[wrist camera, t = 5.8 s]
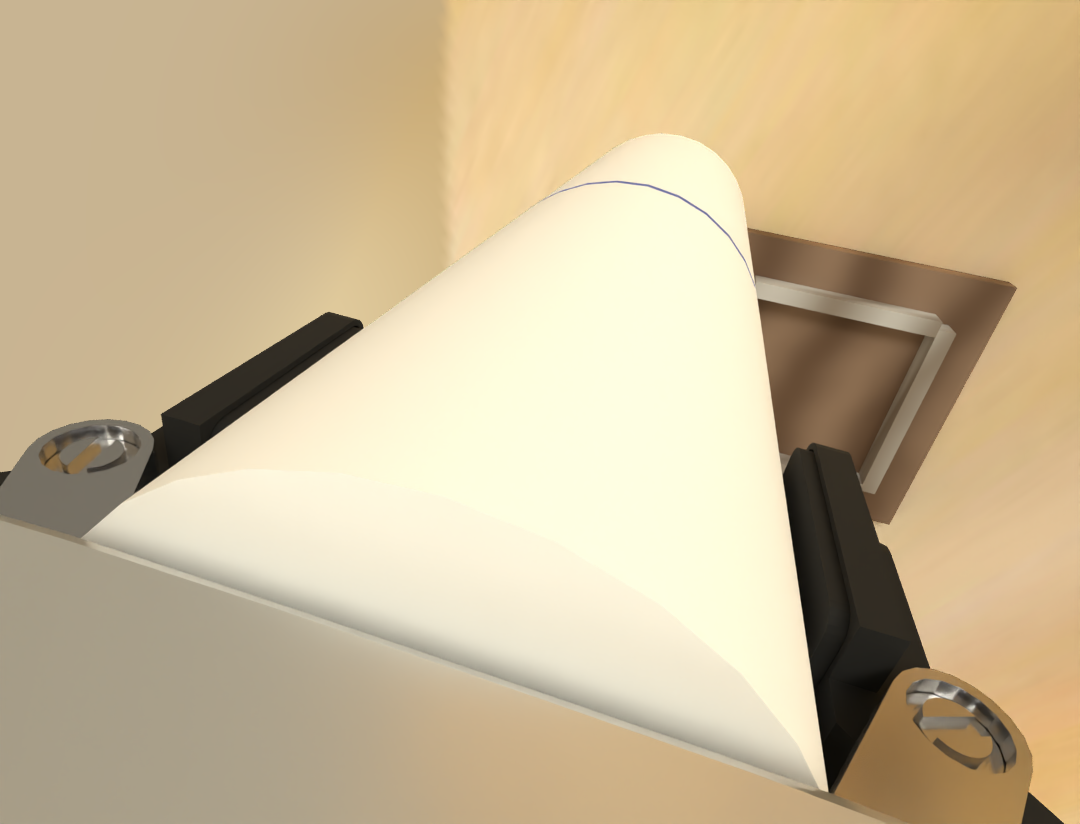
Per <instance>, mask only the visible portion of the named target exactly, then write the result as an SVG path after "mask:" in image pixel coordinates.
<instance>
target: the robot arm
mask: <svg viewBox="0 0 1080 824" xmlns="http://www.w3.org/2000/svg"><path fill="white" fill-rule="evenodd" d="M362 329H363V324H362V322H361V321H360V320H357V319H353V318H350V317H346V316H342V315H339V314H335V313H331V312H327V313H325V314H323V315H321V316H320V317H318V318H317V319H315V320H313V321H312V322H310V323H308V324H307V325H305V326H304V327H302V328H300V329H299V330H297V331H296V332H294V333H292V334H291V335H289V336H287V337H286V338H284V339H282V340H281V341H279V342H278V343H276V344H274V345H273V346H271V347H269V348H268V349H266V350H265V351H263V352H261V353H260V354H258V355H256V356H255V357H253V358H251V359H250V360H248V361H247V362H245V363H243V364H242V365H240V366H239V367H237V368H235V369H234V370H232V371H230V372H229V373H227V374H225V375H224V376H222V377H221V378H219V379H217V380H216V381H214V382H212V383H211V384H209V385H208V386H206V387H204V388H203V389H201V390H199V391H198V392H196V393H194V394H193V395H192V396H190V397H188V398H186V399H185V400H183V401H181V402H180V403H178V404H177V405H175V406H173V407H172V408H170V409H168V410H167V411H165V412H164V413H162V414H161V416H162V423H163V426H162V427H161V428H159V429H158V430H156V431H155V432H153V433H150V431H148V430H147V429H145V428H144V427H142V426H141V425H138V424H135V423H131V422H127V421H121V420H110V419H106V420H89V421H84V422H79V423H74V424H69V425H66V426H64V427H61V428H58V429H55V430H52V431H50V432H49V433H47V434H45V435H43V436H41V437H40V438H38V439H37V440H36V441H35V442H34V443H33V444H31V445H30V446H29V447H28V449H27V450H26V451H25V453H24V454H23V455H22V457H21V458H20V460H19V461H18V462H17V464H16V465H15V467H14V468H13V470H12V471H7V472H0V824H1064V823H1063V822H1062V821H1061V820H1060V819H1058V818H1057V817H1056V816H1055V815H1054V814H1053V813H1052V812H1051V811H1049V810H1048V809H1047V808H1046V807H1045V806H1044V805H1043V804H1042V803H1041V802H1039V801H1038V800H1037V799H1036V798H1035V797H1034V796H1033V795H1032V794H1030V793H1029V792H1028V791H1029V786H1030V782H1031V777H1032V772H1033V767H1032V754H1031V752H1030V750H1029V747H1028V745H1027V743H1026V740H1025V738H1024V736H1023V735H1022V733H1021V732H1020V731H1019V729H1018V728H1017V726H1016V725H1015V724H1014V722H1013V721H1012V719H1011V718H1010V717H1009V716H1008V715H1007V714H1006V713H1005V712H1004V711H1003V710H1002V709H1001V708H1000V707H999V706H998V705H997V704H996V703H995V702H994V701H992V700H991V699H990V698H988V697H987V696H986V695H984V694H983V693H982V692H980V691H979V690H977V689H976V688H975V687H973V686H972V685H970V684H968V683H966V682H964V681H962V680H960V679H958V678H956V677H954V676H953V675H950V674H946V673H943V672H940V671H937V670H934V669H930V667H929V664H928V661H927V658H926V655H925V652H924V649H923V646H922V643H921V640H920V637H919V634H918V632H917V629H916V626H915V623H914V620H913V617H912V614H911V611H910V608H909V605H908V602H907V599H906V596H905V593H904V590H903V588H902V585H901V582H900V579H899V576H898V573H897V570H896V567H895V564H894V561H893V558H892V555H891V553H890V551H889V549H888V547H887V546H885V545H883V544H881V543H879V540H878V537H877V534H876V531H875V528H874V525H873V522H872V519H871V515H870V512H869V509H868V506H867V503H866V500H865V497H864V494H863V491H862V488H861V485H860V482H859V479H858V475H857V472H856V469H855V466H854V463H853V460H852V457H851V455H850V453H849V452H846V451H843V450H839V449H835V448H832V447H828V446H824V445H820V444H817V443H811V444H810V445H809V446H808V447H807V449H806V450H805V449H801V448H798V447H797V448H796V449H795V450H794V451H793V453H792V455H791V457H790V459H789V461H788V464H787V466H786V468H785V470H784V473H783V475H782V476H783V483H784V490H785V497H786V504H787V510H788V517H789V524H790V531H791V538H792V545H793V552H794V559H795V565H796V572H797V579H798V586H799V593H800V600H801V607H802V613H803V620H804V627H805V634H806V641H807V648H808V655H809V662H810V668H811V675H812V682H813V689H814V696H815V703H816V710H817V716H818V723H819V730H820V737H821V744H822V751H823V758H824V765H825V771H826V778H827V785H828V792H829V793H828V792H826V791H823V790H820V789H818V788H815V787H812V786H809V785H806V784H804V783H801V782H798V781H795V780H792V779H789V778H786V777H783V776H781V775H778V774H775V773H772V772H769V771H766V770H763V769H761V768H758V767H755V766H752V765H750V764H747V763H744V762H741V761H739V760H736V759H733V758H730V757H727V756H725V755H722V754H719V753H716V752H713V751H710V750H707V749H704V748H702V747H699V746H696V745H693V744H690V743H687V742H684V741H681V740H678V739H675V738H672V737H670V736H667V735H664V734H661V733H658V732H655V731H652V730H649V729H646V728H643V727H641V726H638V725H635V724H632V723H629V722H626V721H623V720H620V719H617V718H614V717H612V716H609V715H606V714H603V713H600V712H597V711H594V710H591V709H588V708H585V707H582V706H580V705H577V704H574V703H571V702H568V701H565V700H562V699H559V698H556V697H553V696H551V695H548V694H545V693H542V692H539V691H536V690H533V689H530V688H527V687H524V686H521V685H519V684H516V683H513V682H510V681H507V680H504V679H501V678H498V677H495V676H492V675H489V674H486V673H483V672H480V671H477V670H474V669H471V668H468V667H465V666H463V665H460V664H457V663H454V662H451V661H448V660H445V659H442V658H439V657H436V656H433V655H430V654H427V653H424V652H421V651H418V650H415V649H412V648H409V647H406V646H403V645H401V644H398V643H395V642H392V641H389V640H386V639H383V638H380V637H377V636H374V635H371V634H368V633H365V632H362V631H359V630H356V629H353V628H350V627H347V626H344V625H341V624H338V623H335V622H332V621H329V620H326V619H323V618H320V617H317V616H315V615H312V614H309V613H306V612H303V611H300V610H297V609H294V608H291V607H287V606H284V605H281V604H278V603H275V602H272V601H269V600H266V599H263V598H260V597H257V596H254V595H251V594H248V593H245V592H242V591H239V590H236V589H233V588H230V587H227V586H224V585H221V584H218V583H215V582H212V581H209V580H206V579H203V578H200V577H197V576H194V575H191V574H188V573H185V572H182V571H179V570H176V569H173V568H170V567H167V566H164V565H161V564H158V563H155V562H152V561H149V560H146V559H143V558H140V557H137V556H134V555H130V554H127V553H124V552H121V551H118V550H115V549H112V548H109V547H106V546H102V545H99V544H96V543H93V542H90V541H87V540H84V539H81V538H82V537H83V536H84V535H85V534H86V533H87V532H89V531H90V530H91V529H92V528H93V527H94V526H96V525H97V524H98V523H99V522H100V521H101V520H103V519H104V518H105V517H106V516H107V515H108V514H110V513H111V512H112V511H113V510H114V509H115V508H117V507H118V506H119V505H120V504H121V503H123V502H124V501H125V500H127V499H128V498H130V497H131V496H132V495H134V494H135V493H136V492H138V491H139V490H141V489H142V488H143V487H145V486H146V485H148V484H149V483H150V482H152V481H153V480H154V479H156V478H157V477H159V476H160V475H161V474H163V473H164V472H166V471H167V470H168V469H170V468H171V467H172V466H174V465H175V464H177V463H178V462H179V461H181V460H182V459H184V458H185V457H186V456H188V455H189V454H190V453H192V452H193V451H195V450H196V449H197V448H199V447H200V446H202V445H203V444H204V443H206V442H207V441H208V440H210V439H211V438H213V437H214V436H215V435H217V434H218V433H220V432H221V431H222V430H224V429H225V428H226V427H228V426H229V425H231V424H232V423H233V422H235V421H236V420H237V419H239V418H240V417H242V416H243V415H244V414H246V413H247V412H249V411H250V410H251V409H253V408H254V407H255V406H257V405H258V404H260V403H261V402H262V401H264V400H265V399H267V398H268V397H269V396H271V395H272V394H273V393H275V392H276V391H278V390H279V389H280V388H282V387H283V386H285V385H286V384H287V383H289V382H290V381H291V380H293V379H294V378H296V377H297V376H298V375H300V374H301V373H303V372H304V371H305V370H307V369H308V368H309V367H311V366H312V365H314V364H315V363H316V362H318V361H319V360H321V359H322V358H323V357H325V356H326V355H327V354H329V353H330V352H332V351H333V350H334V349H336V348H337V347H339V346H340V345H341V344H343V343H344V342H345V341H347V340H348V339H350V338H351V337H352V336H354V335H355V334H357V333H358V332H359V331H361V330H362Z"/></svg>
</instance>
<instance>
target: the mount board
mask: <svg viewBox="0 0 1080 824" xmlns="http://www.w3.org/2000/svg"><path fill="white" fill-rule="evenodd" d="M747 231H748V238H749V245H750V252H751V259H752V266H753V273H754V279H755V286H756V293H757V299H758V306H759V313H760V320H761V327H762V334H763V341H764V349H765V356H766V363H767V370H768V377H769V384H770V391H771V399H772V406H773V413H774V420H775V427H776V434H777V441H778V449H779V456H780V462H781V469H782V475H783V473H784V470H785V468H786V466H787V464H788V461H789V459H790V457H791V455H792V453H793V451H794V450H795V449H796V448H797V447H798V448H801V449H805V450H806V449H807V447H808V446H809V445H810V444H811V443H817V444H820V445H824V446H828V447H832V448H835V449H839V450H843V451H846V452H849V453H850V455H851V457H852V460H853V463H854V466H855V469H856V472H857V475H858V479H859V482H860V485H861V488H862V491H863V494H864V497H865V500H866V503H867V506H868V509H869V512H870V515H871V519H872V520H874V521H877V522H881V523H885V524H890V522H891V520H892V518H893V516H894V515H895V513H896V511H897V509H898V507H899V505H900V503H901V502H902V500H903V498H904V496H905V494H906V492H907V491H908V489H909V487H910V485H911V483H912V481H913V479H914V478H915V476H916V474H917V472H918V470H919V468H920V467H921V465H922V463H923V461H924V459H925V457H926V455H927V454H928V452H929V450H930V448H931V446H932V444H933V442H934V441H935V439H936V437H937V435H938V433H939V431H940V430H941V428H942V426H943V424H944V422H945V420H946V418H947V417H948V415H949V413H950V411H951V409H952V407H953V406H954V404H955V402H956V400H957V398H958V396H959V394H960V393H961V391H962V389H963V387H964V385H965V383H966V381H967V380H968V378H969V376H970V374H971V372H972V370H973V369H974V367H975V365H976V363H977V361H978V359H979V357H980V356H981V354H982V352H983V350H984V348H985V346H986V345H987V343H988V341H989V339H990V337H991V335H992V333H993V332H994V330H995V328H996V326H997V324H998V322H999V320H1000V319H1001V317H1002V315H1003V313H1004V311H1005V309H1006V308H1007V306H1008V304H1009V302H1010V300H1011V298H1012V296H1013V295H1014V293H1015V291H1016V289H1017V288H1016V287H1015V286H1014V285H1012V284H1011V283H1009V282H1005V281H1000V280H996V279H991V278H986V277H981V276H976V275H972V274H967V273H962V272H957V271H952V270H947V269H943V268H938V267H933V266H928V265H923V264H919V263H914V262H909V261H904V260H899V259H894V258H890V257H885V256H880V255H875V254H870V253H865V252H861V251H856V250H851V249H846V248H841V247H837V246H832V245H827V244H822V243H817V242H812V241H808V240H803V239H798V238H793V237H788V236H783V235H779V234H774V233H769V232H764V231H759V230H755V229H750V228H747Z"/></svg>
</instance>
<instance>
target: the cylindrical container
mask: <svg viewBox="0 0 1080 824" xmlns="http://www.w3.org/2000/svg"><path fill="white" fill-rule="evenodd" d="M81 539H84V540H87V541H90V542H93V543H96V544H99V545H102V546H106V547H109V548H112V549H115V550H118V551H121V552H124V553H127V554H130V555H134V556H137V557H140V558H143V559H146V560H149V561H152V562H155V563H158V564H161V565H164V566H167V567H170V568H173V569H176V570H179V571H182V572H185V573H188V574H191V575H194V576H197V577H200V578H203V579H206V580H209V581H212V582H215V583H218V584H221V585H224V586H227V587H230V588H233V589H236V590H239V591H242V592H245V593H248V594H251V595H254V596H257V597H260V598H263V599H266V600H269V601H272V602H275V603H278V604H281V605H284V606H287V607H291V608H294V609H297V610H300V611H303V612H306V613H309V614H312V615H315V616H317V617H320V618H323V619H326V620H329V621H332V622H335V623H338V624H341V625H344V626H347V627H350V628H353V629H356V630H359V631H362V632H365V633H368V634H371V635H374V636H377V637H380V638H383V639H386V640H389V641H392V642H395V643H398V644H401V645H403V646H406V647H409V648H412V649H415V650H418V651H421V652H424V653H427V654H430V655H433V656H436V657H439V658H442V659H445V660H448V661H451V662H454V663H457V664H460V665H463V666H465V667H468V668H471V669H474V670H477V671H480V672H483V673H486V674H489V675H492V676H495V677H498V678H501V679H504V680H507V681H510V682H513V683H516V684H519V685H521V686H524V687H527V688H530V689H533V690H536V691H539V692H542V693H545V694H548V695H551V696H553V697H556V698H559V699H562V700H565V701H568V702H571V703H574V704H577V705H580V706H582V707H585V708H588V709H591V710H594V711H597V712H600V713H603V714H606V715H609V716H612V717H614V718H617V719H620V720H623V721H626V722H629V723H632V724H635V725H638V726H641V727H643V728H646V729H649V730H652V731H655V732H658V733H661V734H664V735H667V736H670V737H672V738H675V739H678V740H681V741H684V742H687V743H690V744H693V745H696V746H699V747H702V748H704V749H707V750H710V751H713V752H716V753H719V754H722V755H725V756H727V757H730V758H733V759H736V760H739V761H741V762H744V763H747V764H750V765H752V766H755V767H758V768H761V769H763V770H766V771H769V772H772V773H775V774H778V775H781V776H783V777H786V778H789V779H792V780H795V781H798V782H801V783H804V784H806V785H809V786H812V787H815V788H818V789H820V790H823V791H826V792H828V785H827V778H826V771H825V765H824V758H823V751H822V744H821V737H820V730H819V723H818V716H817V710H816V703H815V696H814V689H813V682H812V675H811V668H810V662H809V655H808V648H807V641H806V634H805V627H804V620H803V613H802V607H801V600H800V593H799V586H798V579H797V572H796V565H795V559H794V552H793V545H792V538H791V531H790V524H789V517H788V510H787V504H786V497H785V490H784V483H783V476H782V469H781V462H780V456H779V449H778V441H777V434H776V427H775V420H774V413H773V406H772V399H771V391H770V384H769V377H768V370H767V363H766V356H765V349H764V341H763V334H762V327H761V320H760V313H759V306H758V299H757V293H756V286H755V279H754V273H753V266H752V259H751V252H750V245H749V238H748V231H747V223H746V216H745V209H744V203H743V197H742V193H741V191H740V188H739V185H738V183H737V180H736V178H735V177H734V175H733V174H732V172H731V170H730V169H729V167H728V166H727V164H726V163H725V162H724V161H723V160H722V159H721V158H720V157H719V156H718V155H717V154H716V153H715V152H714V151H712V150H711V149H709V148H707V147H706V146H704V145H703V144H701V143H700V142H698V141H695V140H692V139H689V138H686V137H683V136H681V135H672V134H663V133H661V134H651V135H643V136H640V137H637V138H634V139H630V140H628V141H626V142H624V143H622V144H620V145H618V146H616V147H614V148H613V149H612V150H610V151H609V152H607V153H606V154H605V155H603V156H602V157H601V158H599V159H598V160H596V161H595V162H594V163H592V164H591V165H590V166H588V167H587V168H585V169H584V170H583V171H581V172H580V173H579V174H577V175H576V176H574V177H573V178H572V179H570V180H569V181H568V182H566V183H565V184H563V185H562V186H561V187H559V188H558V189H557V190H555V191H554V192H552V193H551V194H549V195H548V196H547V197H545V198H544V199H542V200H541V201H540V202H538V203H537V204H535V205H534V206H532V207H531V208H530V209H528V210H527V211H525V212H524V213H523V214H521V215H520V216H518V217H517V218H516V219H514V220H513V221H512V222H510V223H509V224H507V225H506V226H505V227H503V228H502V229H500V230H499V231H498V232H496V233H495V234H494V235H492V236H491V237H489V238H488V239H487V240H485V241H484V242H482V243H481V244H480V245H478V246H477V247H476V248H474V249H473V250H471V251H470V252H469V253H467V254H466V255H464V256H463V257H462V258H460V259H459V260H458V261H456V262H455V263H453V264H452V265H451V266H449V267H448V268H446V269H445V270H444V271H442V272H441V273H440V274H438V275H437V276H435V277H434V278H433V279H431V280H430V281H429V282H427V283H426V284H424V285H423V286H422V287H420V288H419V289H418V290H416V291H415V292H413V293H412V294H411V295H409V296H408V297H406V298H405V299H404V300H402V301H401V302H399V303H398V304H397V305H395V306H394V307H393V308H391V309H390V310H388V311H387V312H386V313H384V314H383V315H381V316H380V317H379V318H377V319H376V320H375V321H373V322H372V323H370V324H369V325H368V326H366V327H365V328H363V329H362V330H361V331H359V332H358V333H357V334H355V335H354V336H352V337H351V338H350V339H348V340H347V341H345V342H344V343H343V344H341V345H340V346H339V347H337V348H336V349H334V350H333V351H332V352H330V353H329V354H327V355H326V356H325V357H323V358H322V359H321V360H319V361H318V362H316V363H315V364H314V365H312V366H311V367H309V368H308V369H307V370H305V371H304V372H303V373H301V374H300V375H298V376H297V377H296V378H294V379H293V380H291V381H290V382H289V383H287V384H286V385H285V386H283V387H282V388H280V389H279V390H278V391H276V392H275V393H273V394H272V395H271V396H269V397H268V398H267V399H265V400H264V401H262V402H261V403H260V404H258V405H257V406H255V407H254V408H253V409H251V410H250V411H249V412H247V413H246V414H244V415H243V416H242V417H240V418H239V419H237V420H236V421H235V422H233V423H232V424H231V425H229V426H228V427H226V428H225V429H224V430H222V431H221V432H220V433H218V434H217V435H215V436H214V437H213V438H211V439H210V440H208V441H207V442H206V443H204V444H203V445H202V446H200V447H199V448H197V449H196V450H195V451H193V452H192V453H190V454H189V455H188V456H186V457H185V458H184V459H182V460H181V461H179V462H178V463H177V464H175V465H174V466H172V467H171V468H170V469H168V470H167V471H166V472H164V473H163V474H161V475H160V476H159V477H157V478H156V479H154V480H153V481H152V482H150V483H149V484H148V485H146V486H145V487H143V488H142V489H141V490H139V491H138V492H136V493H135V494H134V495H132V496H131V497H130V498H128V499H127V500H125V501H124V502H123V503H121V504H120V505H119V506H118V507H117V508H115V509H114V510H113V511H112V512H111V513H110V514H108V515H107V516H106V517H105V518H104V519H103V520H101V521H100V522H99V523H98V524H97V525H96V526H94V527H93V528H92V529H91V530H90V531H89V532H87V533H86V534H85V535H84V536H83V537H82V538H81ZM828 793H829V792H828Z"/></svg>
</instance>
